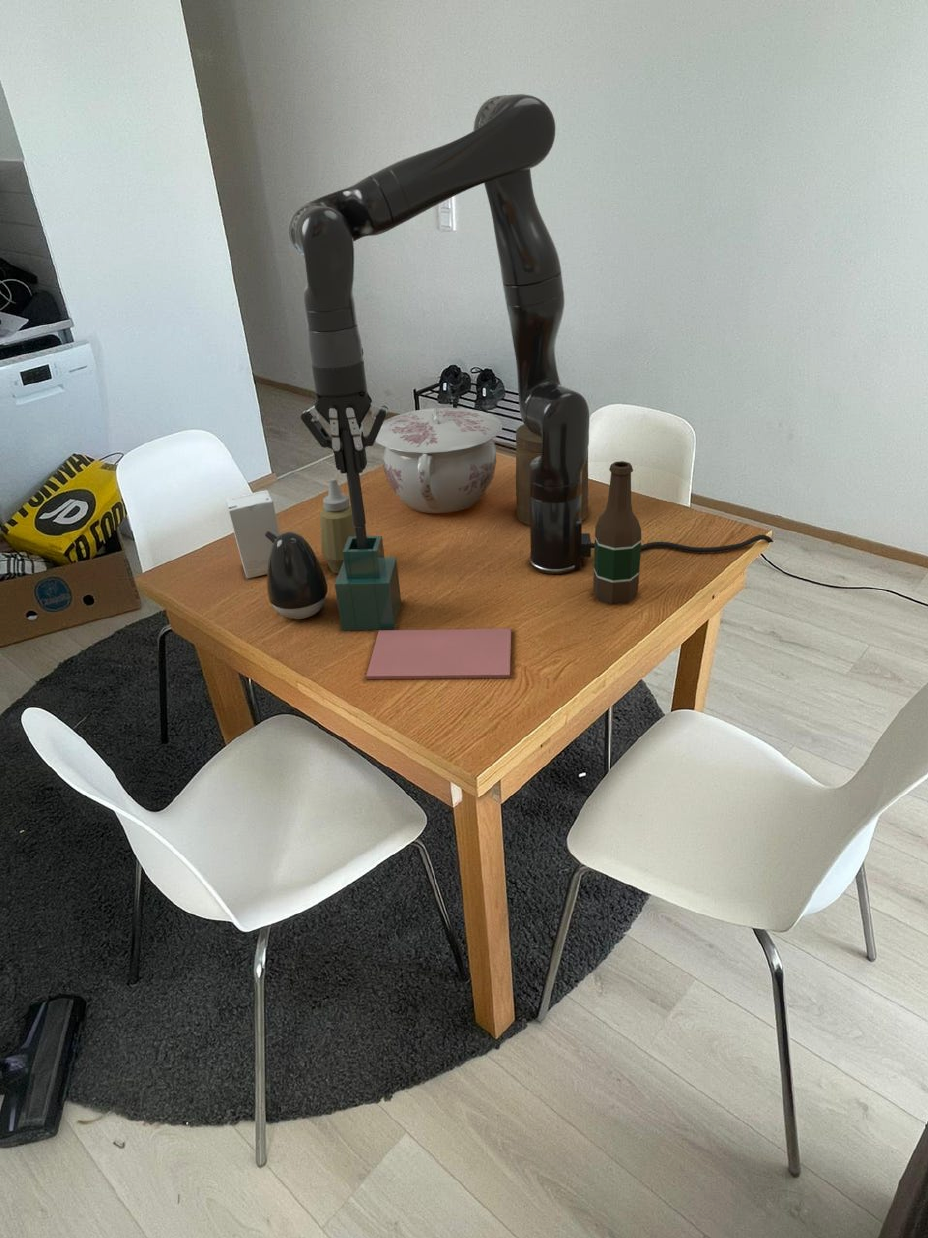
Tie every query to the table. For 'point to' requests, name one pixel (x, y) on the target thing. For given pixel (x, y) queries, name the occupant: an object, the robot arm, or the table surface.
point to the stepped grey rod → (354, 488)
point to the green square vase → (368, 587)
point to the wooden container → (525, 453)
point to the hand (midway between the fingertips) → (352, 470)
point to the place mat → (441, 654)
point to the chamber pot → (439, 457)
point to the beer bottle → (617, 542)
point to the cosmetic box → (253, 529)
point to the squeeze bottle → (335, 526)
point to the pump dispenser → (294, 577)
